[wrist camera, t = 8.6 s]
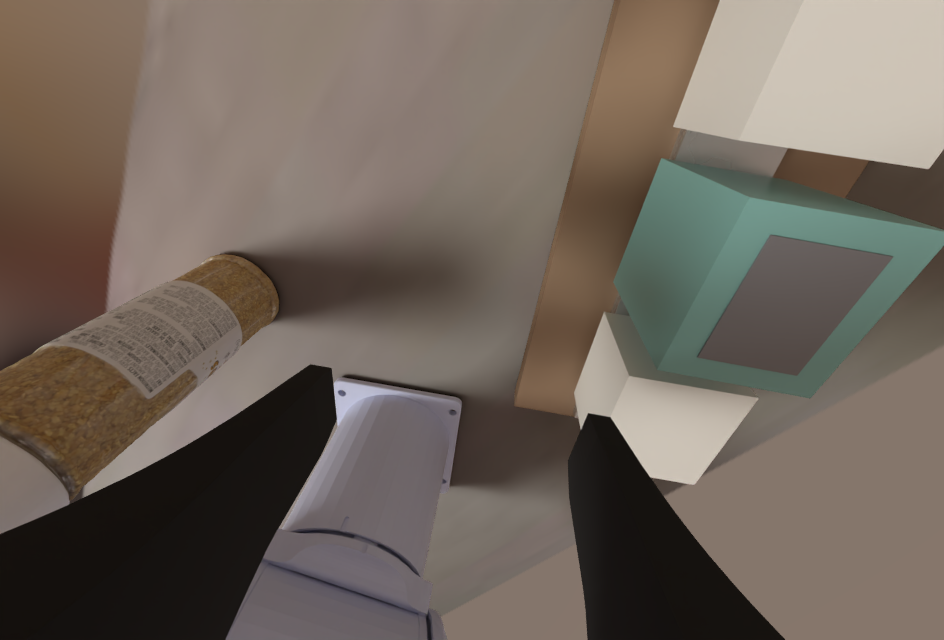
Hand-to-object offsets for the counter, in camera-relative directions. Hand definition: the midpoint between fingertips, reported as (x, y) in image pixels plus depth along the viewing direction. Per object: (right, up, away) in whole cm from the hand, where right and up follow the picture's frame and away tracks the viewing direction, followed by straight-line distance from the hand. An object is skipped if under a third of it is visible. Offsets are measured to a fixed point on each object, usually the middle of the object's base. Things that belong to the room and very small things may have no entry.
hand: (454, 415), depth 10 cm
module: (+9, +6, +4) cm, 12 cm away
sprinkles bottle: (-12, +5, +10) cm, 17 cm away
